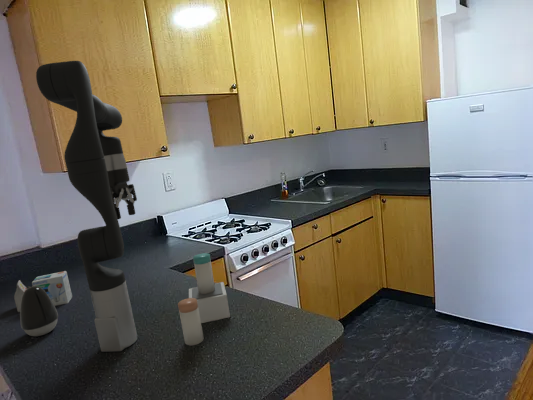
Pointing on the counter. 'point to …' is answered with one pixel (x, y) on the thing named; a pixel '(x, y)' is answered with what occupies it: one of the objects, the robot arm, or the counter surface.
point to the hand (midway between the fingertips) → (125, 216)
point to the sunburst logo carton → (19, 294)
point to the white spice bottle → (190, 321)
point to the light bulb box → (55, 287)
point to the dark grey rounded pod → (37, 312)
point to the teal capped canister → (204, 273)
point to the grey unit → (211, 303)
